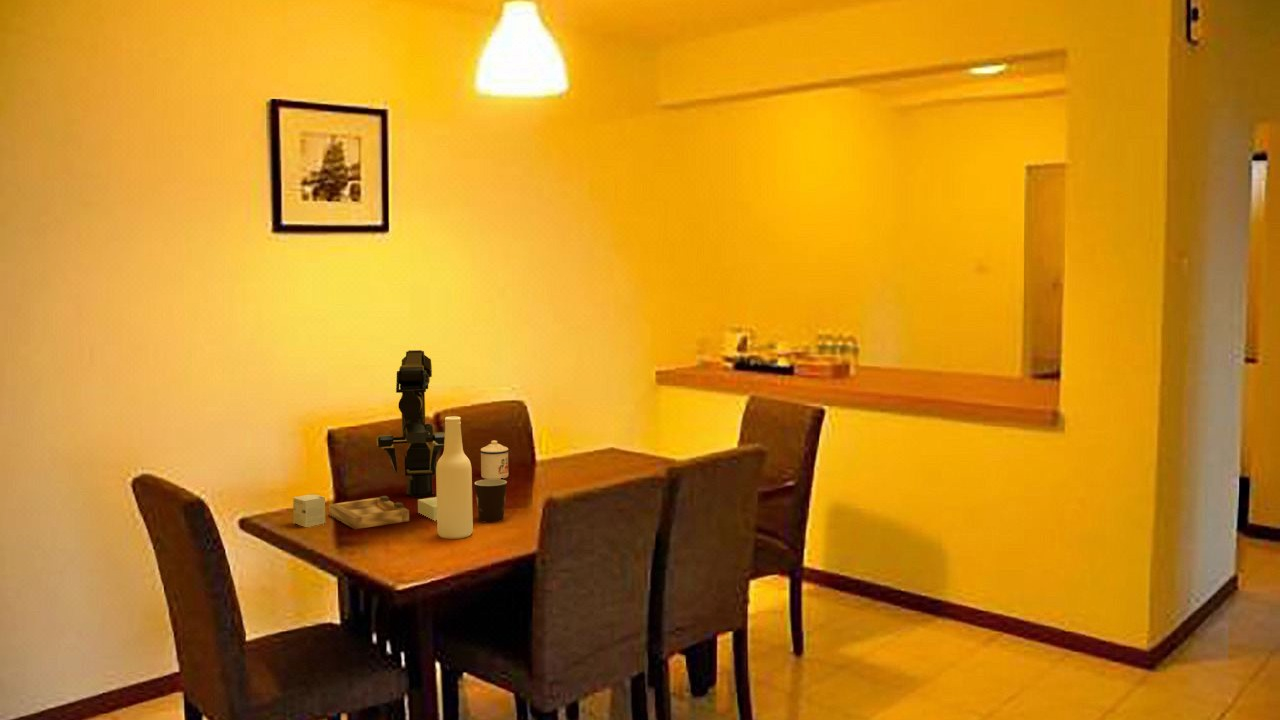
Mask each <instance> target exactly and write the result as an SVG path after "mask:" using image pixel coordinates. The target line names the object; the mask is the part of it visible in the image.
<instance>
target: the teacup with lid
mask: <svg viewBox="0 0 1280 720" xmlns="http://www.w3.org/2000/svg"><path fill="white" fill-rule="evenodd" d="M509 450H510V449H509V448H508V447H507V446H505V445H502V444H500V443H498V440H494V439H493V440H491V441H490V443H489V444H487V445H486V446H483V447H481V448H480V450H479V452H480V475H481V478H482V479H483V480H486V479H500V480H502V479H501V478H503V479H507V478H508V477H509V452H510V451H509Z"/></svg>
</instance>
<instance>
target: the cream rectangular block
mask: <svg viewBox="0 0 1280 720" xmlns="http://www.w3.org/2000/svg"><path fill="white" fill-rule="evenodd" d="M417 513H418V514H419V513H420V514H419V515H421V514H422V515H421V516H423V515H424V517H425V516H426V517H425V518H427V517H428V518H427V519H429V518H430V519H429V520H431V519H432V520H431V521H433V520H434V521H433V522H437V521H436V520H437V496H435V497H427V498H422V499H421V498H419V499H417Z"/></svg>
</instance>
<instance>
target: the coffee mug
mask: <svg viewBox="0 0 1280 720" xmlns="http://www.w3.org/2000/svg"><path fill="white" fill-rule="evenodd" d="M473 484H474V491H475V499H476V506H477V512H478V521H480V520H481V521H480V522H482V521H486V522H485V523H494V522H493V521H498V522H500V521H499V520H501V521H503V520H504V518H505V517H504V516H505V515H504V514H505V505H506V495H507V485H508V481H507V480H504V479H480V480H476V481H475V482H474V483H473ZM502 519H503V520H502Z"/></svg>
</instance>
